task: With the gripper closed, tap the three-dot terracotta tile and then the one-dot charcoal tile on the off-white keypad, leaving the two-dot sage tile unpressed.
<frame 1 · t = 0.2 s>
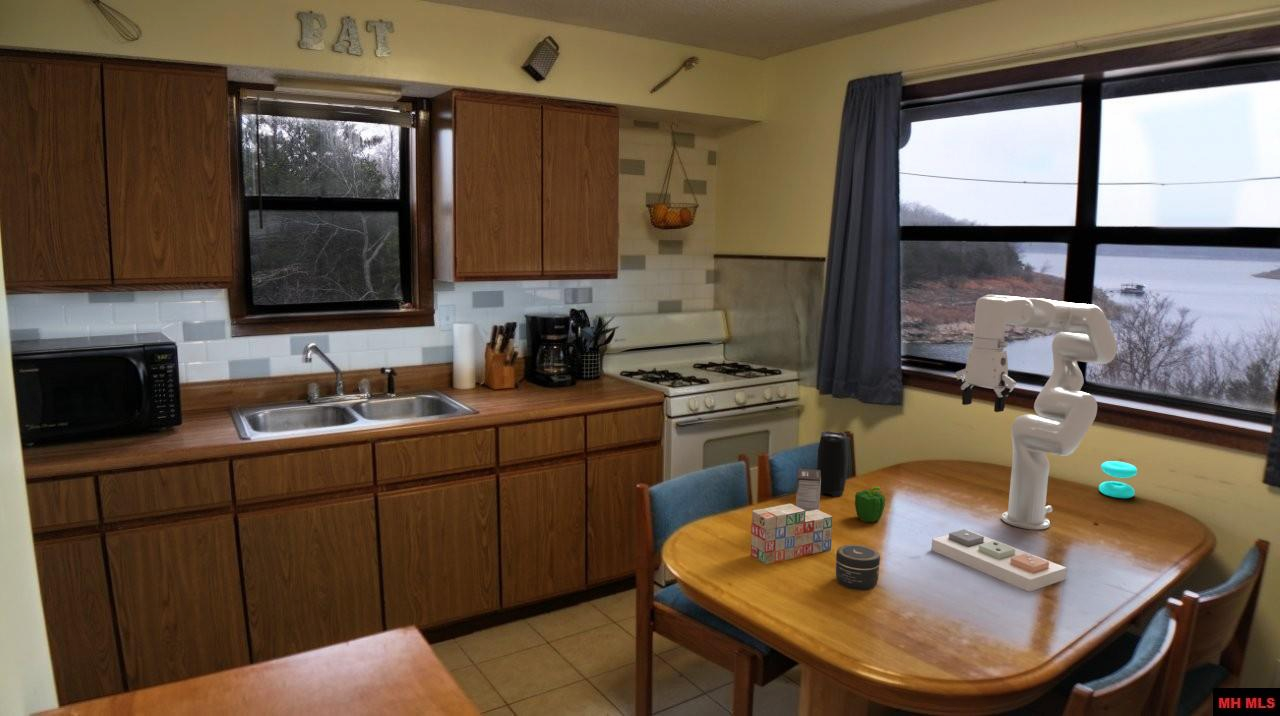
hand: (982, 407, 211), 36 cm above the table, tool pointing down, fingers open, 9 cm apart
jar: (856, 583, 188), on the table
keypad: (995, 564, 200), on the table
bell pepper: (868, 520, 230), on the table
coffee box: (806, 529, 222), on the table
stack of blocks: (791, 553, 205), on the table
tile three: (1029, 564, 191), point 3 cm above the table, slide at 0.0 cm
tile two: (996, 551, 199), point 3 cm above the table, slide at 0.0 cm
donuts: (1116, 495, 256), on the table
portable speaker: (830, 493, 253), on the table
tile one: (966, 539, 207), point 3 cm above the table, slide at 0.0 cm
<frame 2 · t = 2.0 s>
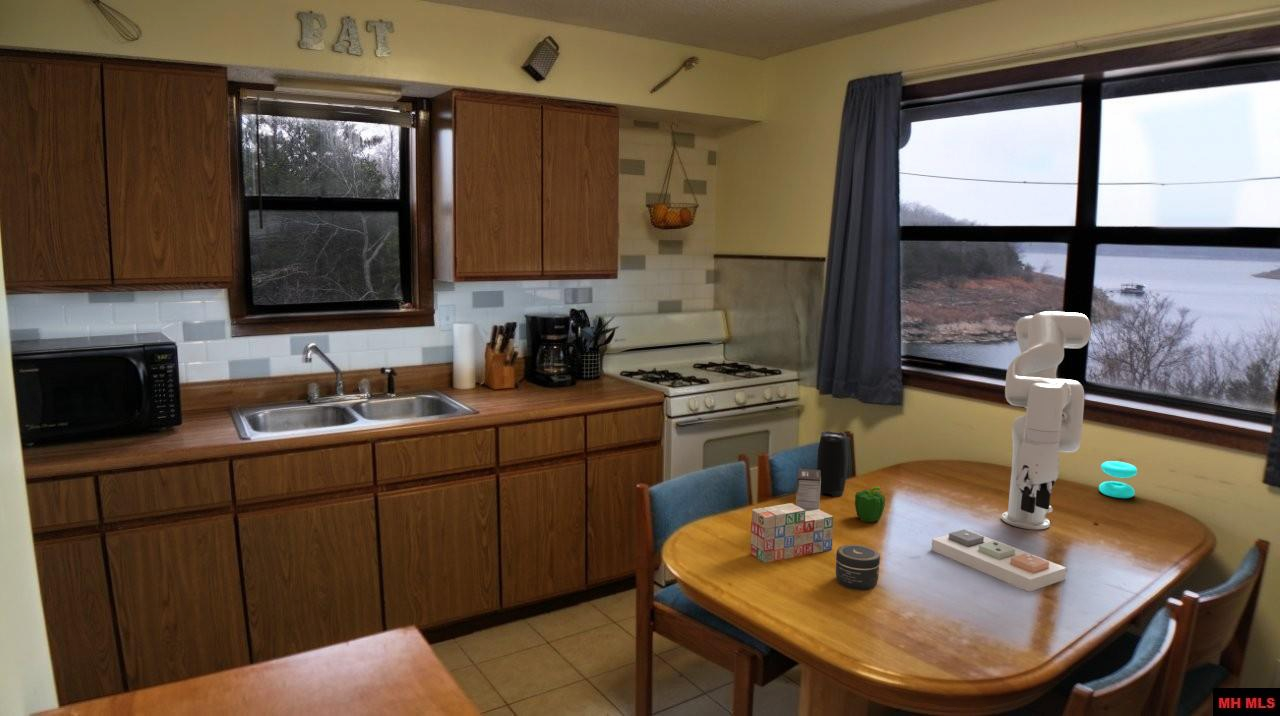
hand: (1034, 508, 189), 17 cm above the table, tool pointing down, fingers open, 4 cm apart
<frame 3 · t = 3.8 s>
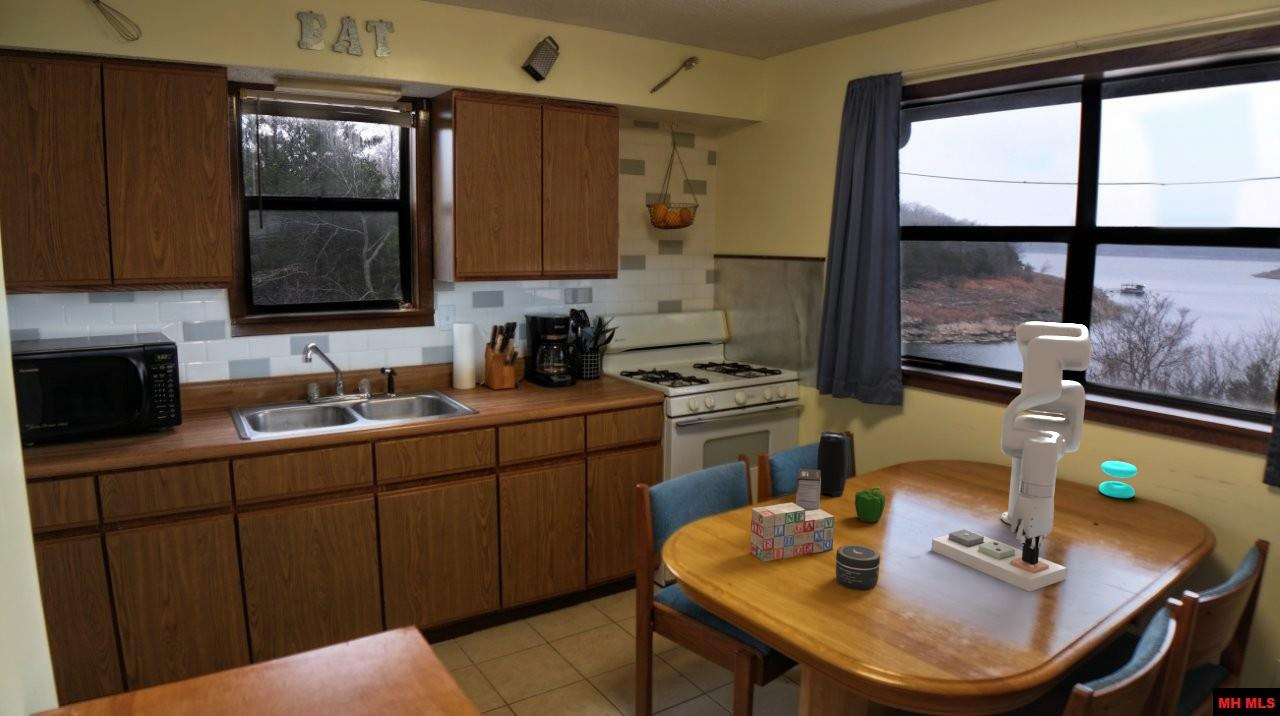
hand: (1029, 561, 191), 4 cm above the table, tool pointing down, fingers closed
tile three: (1029, 567, 192), point 3 cm above the table, slide at 0.7 cm, touching gripper
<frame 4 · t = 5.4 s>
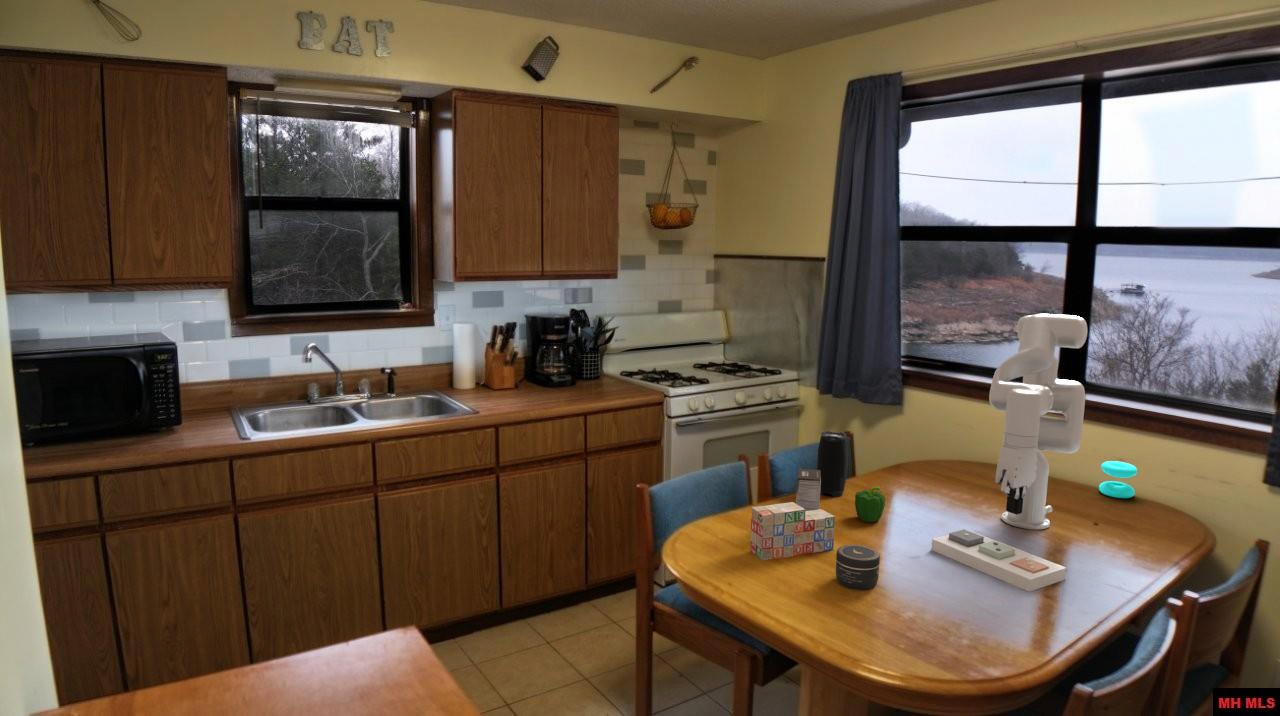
hand: (1013, 512, 194), 15 cm above the table, tool pointing down, fingers closed
tile three: (1029, 568, 192), point 2 cm above the table, slide at 1.1 cm
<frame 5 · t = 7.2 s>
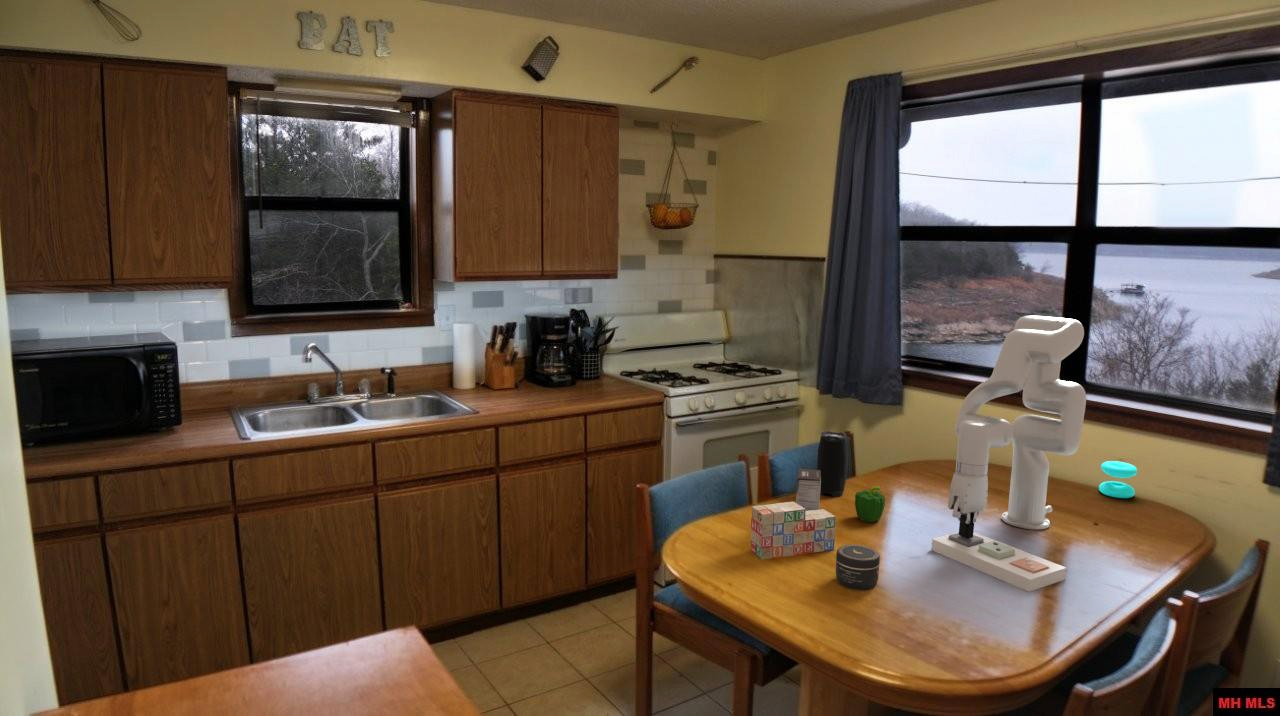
hand: (965, 536, 207), 4 cm above the table, tool pointing down, fingers closed
tile one: (965, 541, 207), point 3 cm above the table, slide at 0.6 cm, touching gripper
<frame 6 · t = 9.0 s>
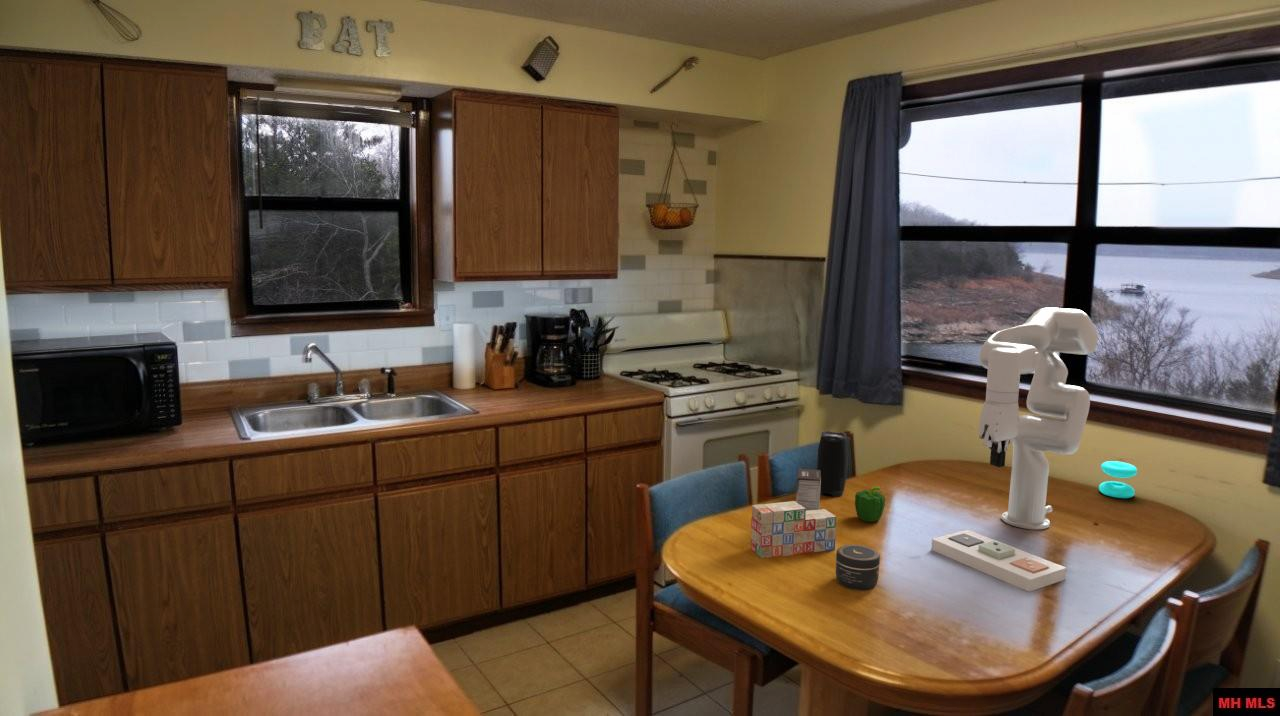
hand: (997, 465, 205), 23 cm above the table, tool pointing down, fingers closed
tile one: (965, 543, 207), point 2 cm above the table, slide at 1.1 cm
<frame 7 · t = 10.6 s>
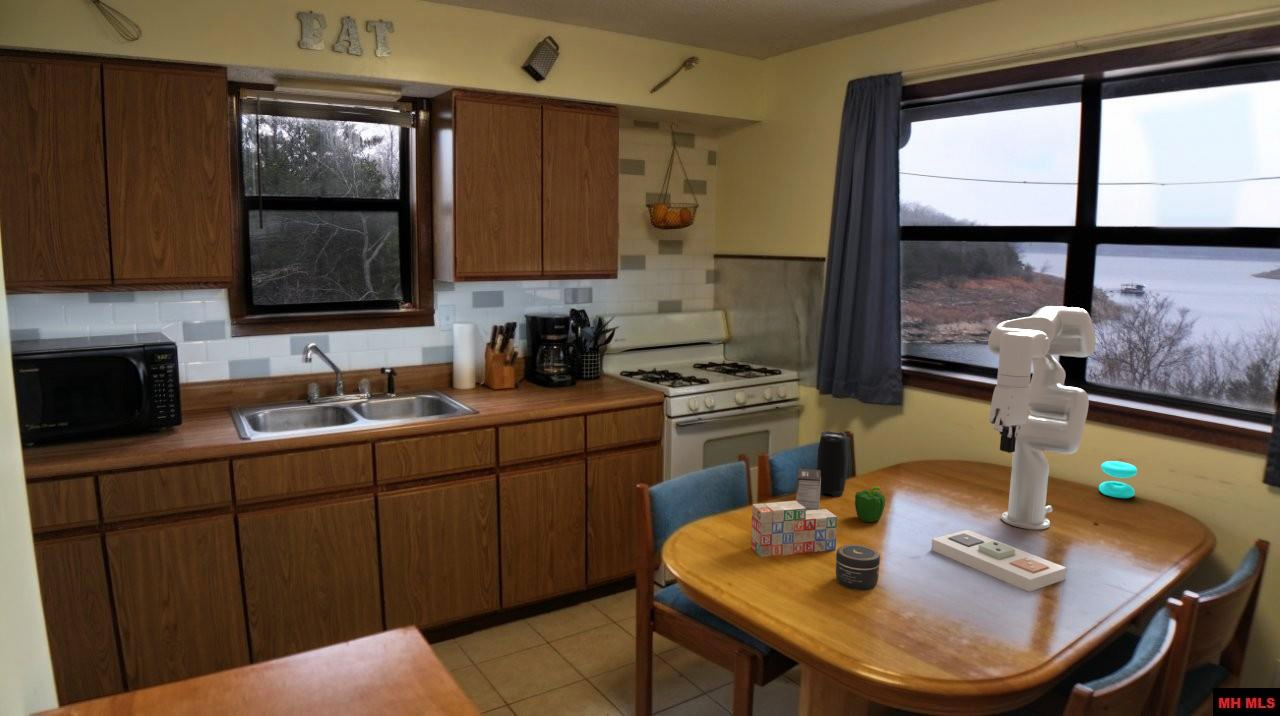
hand: (1007, 451, 204), 27 cm above the table, tool pointing down, fingers closed
at the end: tile three slide at 1.1 cm; tile one slide at 1.1 cm; tile two slide at 0.0 cm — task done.
